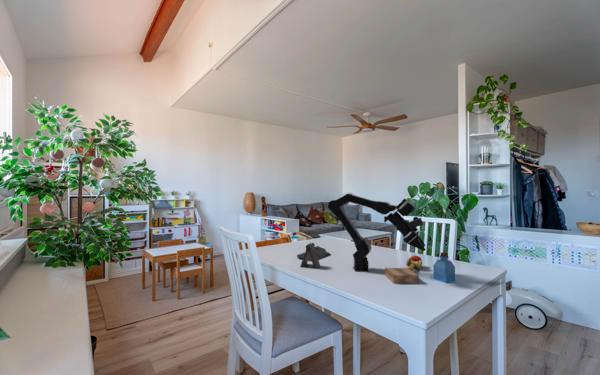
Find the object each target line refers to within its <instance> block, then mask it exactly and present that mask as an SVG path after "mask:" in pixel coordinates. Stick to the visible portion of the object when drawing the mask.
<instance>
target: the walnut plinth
mask: <svg viewBox="0 0 600 375" xmlns="http://www.w3.org/2000/svg"><path fill="white" fill-rule="evenodd" d="M384 272H385V274H384V276H386V278H387V279H388V280H390V282H391V283H392V284H419V283H420V279H419V278H420V276H419V275H420V274H417V273H416V272H415V271H414V270H413V271H412V270H411V269H409V268H408V267H386V268H385V269H384Z"/></svg>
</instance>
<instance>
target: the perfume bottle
mask: <svg viewBox="0 0 600 375" xmlns="http://www.w3.org/2000/svg"><path fill="white" fill-rule="evenodd" d="M439 254H440V255H439V258H440V259H437V260H436V261H435V263H433V265H432V266H433V275H432V276H433V278H432V279H433V280H435V281H439V282H442V283H445V284H447V283H448V284H449V283H452V282H455V281H456V266H455V265H454V263H453V262H452V261H451V260H449V253H448V252H444V251H443V252H440V253H439Z"/></svg>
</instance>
